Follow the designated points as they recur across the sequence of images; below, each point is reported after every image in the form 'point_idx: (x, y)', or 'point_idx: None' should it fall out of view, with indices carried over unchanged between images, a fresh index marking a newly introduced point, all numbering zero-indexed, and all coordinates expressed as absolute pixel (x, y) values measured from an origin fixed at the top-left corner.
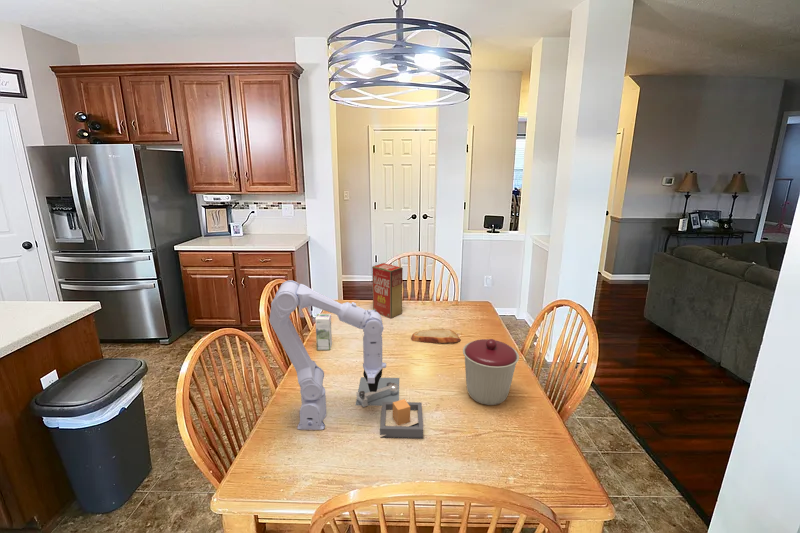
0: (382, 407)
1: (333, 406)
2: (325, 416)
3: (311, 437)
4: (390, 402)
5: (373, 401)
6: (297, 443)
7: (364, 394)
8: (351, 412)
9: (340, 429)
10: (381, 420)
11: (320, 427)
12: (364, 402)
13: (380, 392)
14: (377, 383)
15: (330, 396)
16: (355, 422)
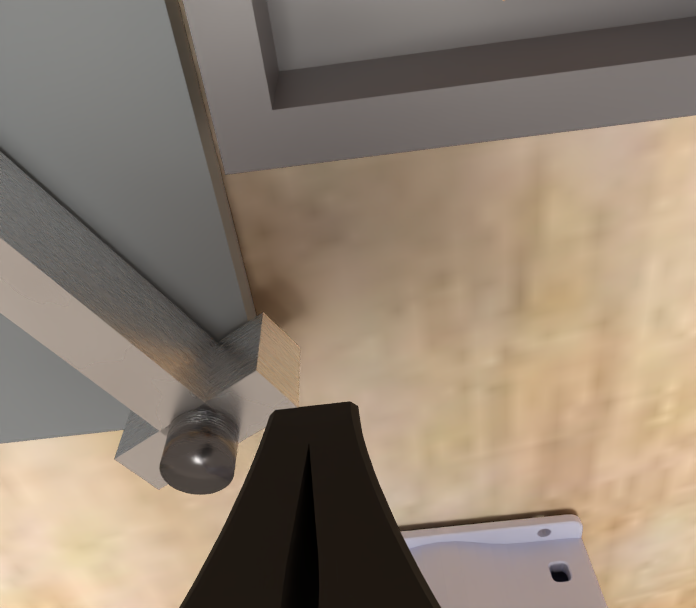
0: (359, 150)
1: None
2: (460, 553)
3: (643, 545)
4: (208, 44)
5: (153, 266)
6: (689, 585)
7: (200, 430)
8: (340, 400)
9: (573, 422)
10: (660, 110)
11: (580, 544)
12: (286, 374)
13: (26, 246)
14: (422, 582)
15: (168, 567)
16: (480, 341)
